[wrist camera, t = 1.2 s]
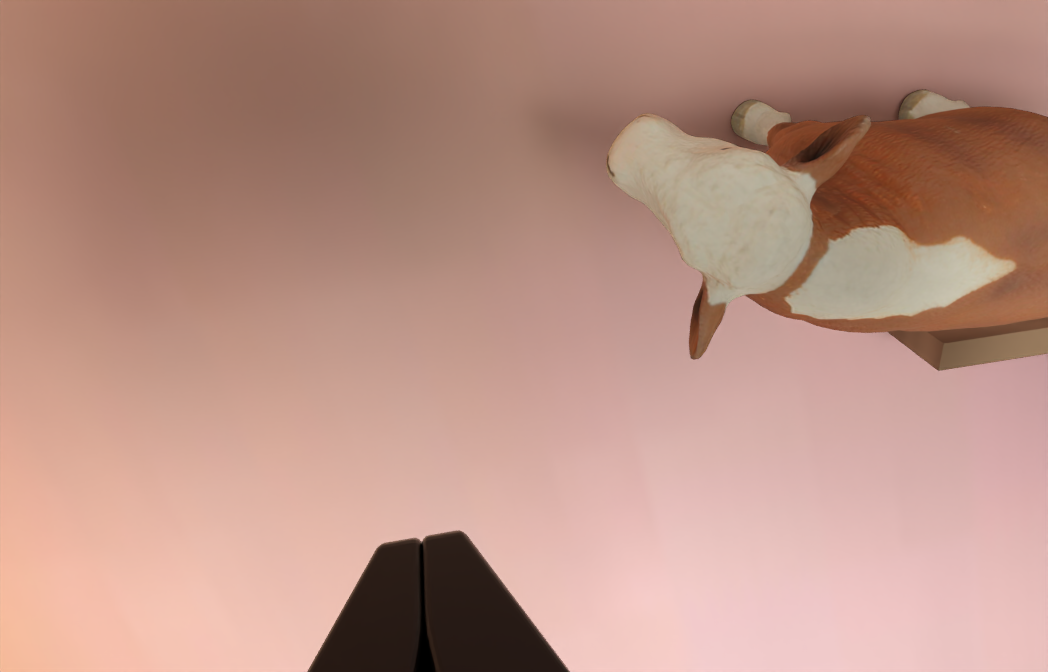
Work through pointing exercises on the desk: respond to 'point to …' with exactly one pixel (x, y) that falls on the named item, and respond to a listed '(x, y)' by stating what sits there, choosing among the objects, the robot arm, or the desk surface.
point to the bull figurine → (854, 214)
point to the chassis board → (977, 343)
